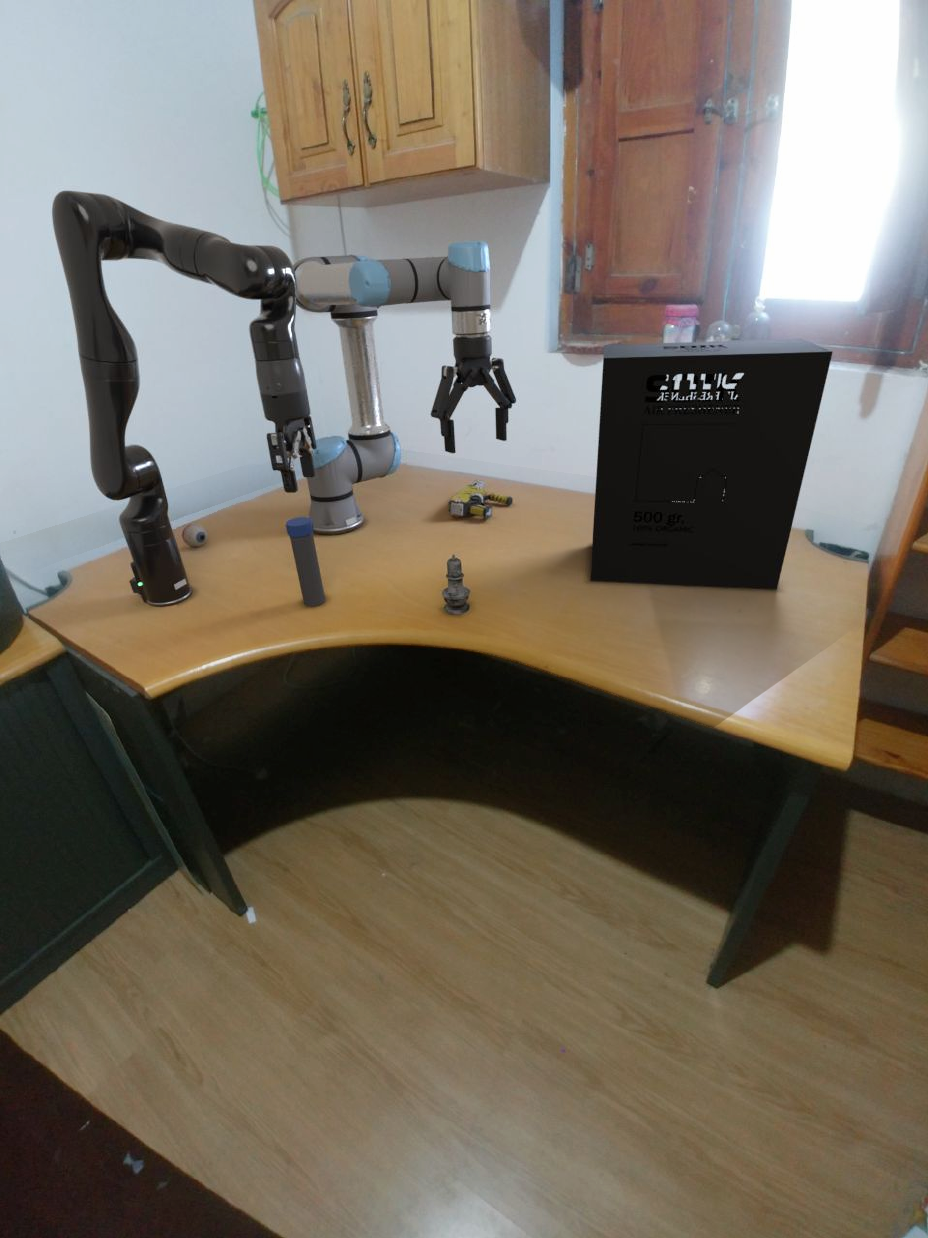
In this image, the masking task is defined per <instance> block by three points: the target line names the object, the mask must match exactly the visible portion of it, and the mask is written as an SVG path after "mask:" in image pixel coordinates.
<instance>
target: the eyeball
mask: <svg viewBox="0 0 928 1238" xmlns="http://www.w3.org/2000/svg"><path fill="white" fill-rule="evenodd" d="M181 537H182V540H183V541H184V543H185V544H186V545H188V546H190V547H193V548H198V547H201V546H203V545H204V544H205V543H206V541H207V539H208V533H207V531H206V529H205V528H204V527H203V526H202V525H200V524H198V523H190V524H188V525H186V526H185V527H184V528H183V529H182V533H181Z"/></svg>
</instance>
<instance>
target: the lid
mask: <svg viewBox="0 0 928 1238" xmlns="http://www.w3.org/2000/svg"><path fill="white" fill-rule="evenodd" d="M285 528H286V533H287V536H289V537H290V536H291V537H303V536H307V535H309V534H311V533H313V534H314V532H313V531H314V528H313V523H312V520H311V518H309V516H299V517H293V518H291V519H288V520H286V522H285Z"/></svg>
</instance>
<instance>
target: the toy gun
mask: <svg viewBox="0 0 928 1238" xmlns="http://www.w3.org/2000/svg"><path fill="white" fill-rule="evenodd" d="M485 485H486V483H485V480H480V481H479V479H475V480H474V481H472V483H470V484H467V486H465V487H464V488H463V489H462V490H461V491H459V492H458V493H456V494H455V495H454V496H453V497H452V498H451V499H450V500H448V502H447V513H448V514H449V515H451V516H452V517H456V518H458V517H467V516H472V515H473V516H479V517H482V520H484V521H486V520H487V519H489V518H491V517H492V516H493V515H492V514H493V505H492V504H488V505H486V503H485V502H486V501H488V500H489V501H490V502H494V503H496V502H497V503H499V504H504V505H507V506H508V507H509V506H512V505H513V502H514V501H513V500H514V498H513V497H512V496H508V495H507V496H506V495H502V494H498V493H494V492H490V493H489V494H487V492H486V490H485V488H483V487H484V486H485Z"/></svg>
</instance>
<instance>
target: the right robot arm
mask: <svg viewBox="0 0 928 1238" xmlns="http://www.w3.org/2000/svg"><path fill="white" fill-rule="evenodd" d="M490 263H491V262H490V252H489V245H488V244H487V242H485V241H484V240H466V241H455V242H451V243H450V244H449V245H448V247H447V256H431V257H430V256H427V257H413V258H411V257H410V258H391V259H390V258H386V259H374V258H370V257H369V256H367V255H358V254H349V255H328V256H326V255H325V256H310V257H305V258H302V259H300V260H298V261H296V262H295V263H293V264H292V265H293V268H294V271H295V275H296V284H297V296H296V306H298V307H299V308H300V309H302V310H304V311H306V312H310V313H318V314H319V313H320V314H321V313H330V320H331V321H332V322H333V323H334V324H335V325H336V326H337V327H338V332H339V333H338V334H339V339H340V347H341V355H342V361H343V369H344V375H345V382H346V383H345V384H346V389H347V396H348V404H349V410H350V418H351V425H350V426H349V428H348V430H347V436H348V439H345V437H343V436H341V435H332V436H324V437H321V438H318V439H315V440H316V445H317V448H316V449H313V451H314V455H313V456H312V457H313V462H314V468H315V476H314V477H306V481H307V486H308V492H309V498H310V507H309V513H308V518H311V520H312V523H313V528H314V531H313V534H317V535H323V536H324V535H325V536H327V535H329V536H331V535H339V534H340V535H341V534H345V533H350V532H353V531H355V530H357V529H359V528H361V527H362V526H363V525H364V523H365V519H364V514H363V512H362V510H361V508H360V505H359V504H358V501H357V500H356V498H355V495H354V489H353V485H354V484H355V485H356V484H359V483H363V482H368V481H371V480H375V479H381V478H385V477H387V476H390V475H392V474H394V473H396V472H397V470H398V469H399V467H400V465H401V462H402V446H401V443H400V441H399V437H398V436H397V435H396V434H395V432H394V431H391V426H390V425H388V423H386V422H385V420H384V419H385V418H384V410H383V402H382V393H381V385H380V377H379V368H378V367H379V366H378V358H377V349H376V341H375V331H374V324H375V322H376V320H377V319H378V317H379V314H378V309H379V308H381V307H385V306H394V305H403V304H405V305H406V304H417V303H419V304H420V303H427V302H428V303H429V302H444V301H448V302H449V301H450V311H451V313H450V314H451V315H450V316H451V334H453V335H454V337H453V339H452V350H453V358H454V359H455V363H454V366H452V365H442V366H441V373H440V374H441V375H440V376H441V377H440V381H439V384H438V388H437V390H436V395H435V398H434V401H433V404H432V407H431V411H430V416H431V418H435V419H438V421H439V426H440V435H441V437H443V441H444V442H443V443H444V452H446V453H450V454H456V433H455V420H454V419H451V418H452V416H453V414H454V413H455V410H456V409H457V406H458V404H459V402H460V401H461V399H462V397H463V396H464V393H465V392H466V391H468V389H469V388H474V387H477V386H478V387H482V386H483V387H484V389H485V390H486V391H487V392H488V394H489V396H491V398H492V399H493V401H494V402H495V403H496V405H497V406H498V407H495V408H494V410H495V411H494V413H495V414H494V415H495V439H496V440H499V441H502V442H507V441H508V438H507V435H508V433H507V424H509V410H510V409H512V407H513V404H516V403H517V398H516V394H515V393H514V390H513V388H512V385H511V383H510V380H509V378H508V375H507V373H506V370H505V363H504V362H505V361H504V359H503V358H499V357H493V358H491V356H492V354H493V346H492V344H493V343H492V340H493V339H492V336H491V335H489V333H491V332H492V315H491V314H492V312H491V311H492V309H491V264H490ZM491 370H492V374H493V376H494V378H493V376H492V375H491ZM455 377H456V378H455ZM454 378H455V380H454ZM495 381H496V383H497V384H496V383H495Z"/></svg>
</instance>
